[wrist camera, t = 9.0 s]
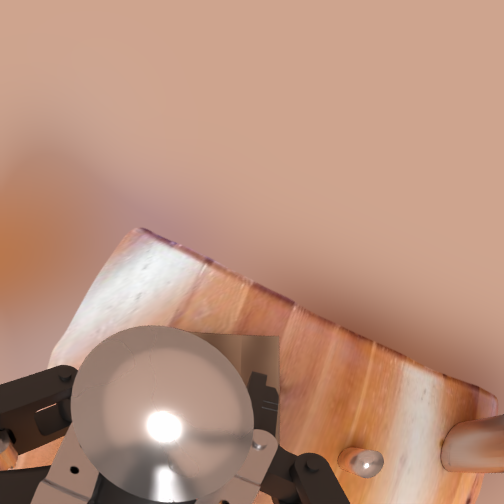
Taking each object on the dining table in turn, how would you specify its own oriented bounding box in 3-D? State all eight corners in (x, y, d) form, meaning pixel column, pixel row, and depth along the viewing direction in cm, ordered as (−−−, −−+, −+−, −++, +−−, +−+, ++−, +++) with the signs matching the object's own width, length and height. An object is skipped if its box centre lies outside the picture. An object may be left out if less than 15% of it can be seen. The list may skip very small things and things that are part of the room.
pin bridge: (268, 351, 35) (279, 336, 29) (267, 467, 27) (278, 482, 20) (169, 345, 35) (155, 328, 28) (162, 461, 26) (146, 473, 19)
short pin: (362, 444, 29) (383, 448, 24) (361, 467, 27) (383, 474, 22) (337, 449, 29) (356, 454, 23) (337, 472, 27) (356, 480, 22)
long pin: (234, 389, 19) (255, 332, 5) (233, 435, 17) (252, 509, 3) (184, 386, 19) (83, 315, 5) (182, 432, 17) (69, 476, 3)
